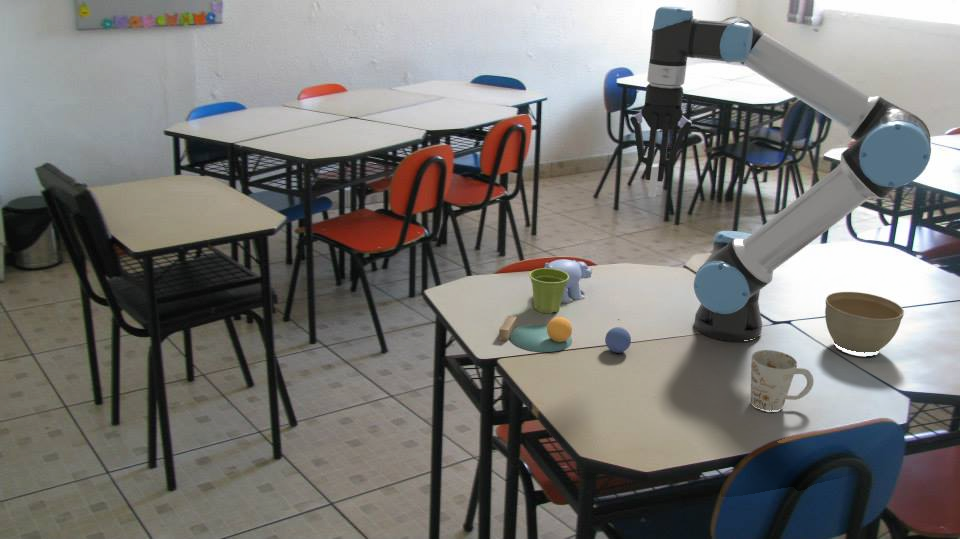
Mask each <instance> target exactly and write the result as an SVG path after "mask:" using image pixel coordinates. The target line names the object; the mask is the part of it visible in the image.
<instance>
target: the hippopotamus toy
mask: <svg viewBox="0 0 960 539" xmlns="http://www.w3.org/2000/svg"><path fill="white" fill-rule="evenodd" d="M544 268H551V269H557V270H561V271H564V272H566V273H567V274H568V275H569V280H568V281H567V283H566V285H565V288H564V292H563V296H562V301H561V304H568V303H570V302H573V300H576V301H579V300H582V299H585V298H586V297H585V295H583V294H582V292H581V288H580V284H579V282H580V281H581V279H590V278H591V277H592V273H593V269H592V268H589V267H588V265H587V263H585V262H584V261H576V260H575V259H573V260H570V259H556V260H553V261H551V262H545V264H544Z"/></svg>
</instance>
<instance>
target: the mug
mask: <svg viewBox="0 0 960 539" xmlns="http://www.w3.org/2000/svg"><path fill="white" fill-rule="evenodd" d="M750 361H751V362H750V363H751V364H750V365H751V367H750V368H751V369H750V404H751V403H752V404H753V405H754V406H755V407H757V408H760V409H764V410H769V411H770V410H771V411H772V410H779V409H781V408H782V407H784V405H785V402H786V400H789V401H790V400H791V401H795V400H800V399H803V398H804V397H805V396H807V395H808V394H809V393H810V391H811V390H812V388H813V386H814V376H813V374H812V373H811V371H810V370H809V369H807V368H803V367H798V362H797V360H796V359H795V357H793V356H791V355H790V354H787V353H784V352H781V351H778V350H771V349H768V350H767V349H764V350H763V349H761V350H757V351H754V352H753V353H752V354H751V360H750ZM795 375H802V376H804V377H805V379H806V385H805V387H804V388H803V390H801V391H800V392H799V393H798V394H796V395H795V394H794V395H793V394H788V393H789V390H790V387H791V385H792V382H793V379H794V377H795ZM782 409H783V408H782Z"/></svg>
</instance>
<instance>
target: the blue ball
mask: <svg viewBox="0 0 960 539" xmlns="http://www.w3.org/2000/svg"><path fill="white" fill-rule="evenodd" d="M604 338H605V340H604V341H605V346H606V348H607V349H608V350H610V352H613V353H615V354H616V353H617V354H619V353H624V352H625V351H627V350H628V349H629V347H630V346H631V343H632V338H631V335H630V333H629V332H628V330H626V329H625V328H624V327H621V326H620V327H619V326H618V327H617V326H616V327H613V328H611V329H610V330H608V331H607V333H606V335H605V337H604Z"/></svg>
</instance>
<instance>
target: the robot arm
mask: <svg viewBox="0 0 960 539" xmlns="http://www.w3.org/2000/svg"><path fill="white" fill-rule="evenodd" d="M652 27H653V28H652V29H651V33H652V35H651V42H650V43H651V44H650V54H649V62H648V71H647V77H646V79H647V80H646V81H647V82H648V84H647V85H646V88H645V96H644V97H645V98H644V105H643V107H642V108H641V111H640V112H639V113H635V114H632V115H631V117H630V118H629V121H630V123H631V125H632V126H633V130H634V137H635V144H636V152H637V159H638V162H640V163H642V164H644V165H645V175H644V179H645V181H649V186H648V188H649V189H648V197H649V198H656V196H657V191H658V185H659V184H658V183H659V182H660V183H661V182H663V180H664V177H665V169H666V167H669V166H673V165H674V164H675V160H676V159H677V156H678V153H679V151H680V147H681V145H682V142H683V140H684V137H685V136H686V133H687V131H689V130H690V128H691V127H692V124H693V122H692V120H691V119H688V118H686V116H684V115H683V114H684V112H683V110H682V103H683V97H684V96H683V94H684V88H683V87H682V86H683V85H684V84H685V80H686V70H687V61H688V58H690V59H702V60H712V61H718V62H719V61H720V62H726V63H729V64H730V63H740V64H741V65H743V66H744V67H747V68H748V69H750V70H751V71H753V72H755V73H756V74H757V75H759V76H760V77H763V78H764V79H766V80H768V81H769V82H771V83H772V84H774V85H776V86H777V87H779V88H781V89H782V90H783V91H786V92H787V93H788V94H790V95H792V96H793V97H794V98H796V99H798V100H799V101H802V103H804V104H806V105H808V106H809V107H810V108H812V109H814V110H815V111H817V112H819V113H821V114H822V115H824V116H825V117H827V118H829V119H830V120H831V121H833V122H835V123H836V124H838V125H839V126H842V127H843V128H844V129H846V130H847V133H848V137H849V138H851V139H852V140H854V141H855V142H854V143H853V144H852V145H851V146H849V147H847V149H845V150H844V151H843V152H841V155H840V160H839V161H840V163H839V165H837V166H836V167H835V168H834V169H833V170H832V171H830V172H829V173H827V174H826V175H824V177H823V178H821V179H820V180H818V181H817V182H816V183H815V184H813V185H812V186H811V187H810V188H809V189H808V190H806V191H805V192H803V193H802V194H801V195H800V196H799V197H798V198H796V199H795V200H793V201H792V202H791V203H789V204H788V205H787V206H786V207H785V208H783V209H782V210H781V211H780V212H778V213H777V214H776V215H775V216H773V217H772V218H771V219H770V220H768V221H766V223H764V224H763V225H762V226H760V228H758V229H757V230H755V231H754V232H753V233H748V232H743V231H737V230H736V231H735V230H721V231H718V232H716V233H715V235H714V238H713V240H712V251H711V254H710V255H709V256H708V257H707V259H706V260H705V261H704V263H703V264H702V265H701V266H700V267H699V268H698V269H697V271H696V274H695V277H694V281H693V289H694V290H693V291H694V294H695V297H696V299H697V300H698V302H699V303H700V305H699V306H698V309H697V311H696V313H695V315H694V316H695V317H694V322H693V326H694V327H695V329H697V331H698V332H700V333H701V334H703V335H706V336H708V337H711V338H713V339H716V338H717V340H720V339H722V340H721V341H725V340H728V341H727V342H734V341H744V340H750V339H754V338H756V337H758V336H759V335H760V334H761V335H762V330H763V321H762V316H761V315H762V314H761V310H760V304H759V299H760V292H761V290H762V289H763V288H764V287H766V286H767V285H768V284H770V283H771V282H772V281H773V277H774V276H773V275H774V271H775V270H777V269H778V268H779V267H780V266H782V265H783V264H784V263H785V262H787V261H789V259H791V258H792V257H794V256H796V254H797V253H799V252H800V251H802V250H803V249H805V247H807V246H808V245H809V244H811V243H812V242H814V240H816V239H817V238H819V237H821V236H822V235H823V234H824V233H825V232H827V231H828V230H829V229H831V228H832V227H834V226H835V225H836V224H838V222H840V221H841V220H844V218H846V217H847V216H848V215H849V214H850V213H852V212H853V211H855V210H857V208H858V207H860V206H862V205H863V204H864V203H866V202H867V201H868V200H871V199H877V200H882V199H884V198H885V197H887V196H888V195H890V194H891V193H892V192H894V191H895V190H896V189H898V187H899V188H900V187H902V186H905V185H907V184H910V183H912V182H913V181H915V180H916V179H917V178H918V177H920V176H921V175H922V173H923V172H924V171H925V170H926V168H927V166H928V164H929V162H930V159H931V155H932V154H931V153H932V147H931V146H932V145H931V134H930V130H929V127H928V125H927V124H926V123H925V122H924V121H923V120H922V119H921V118H920V117H919V116H917V115H915V114H914V113H912V112H910V111H908V110H906V109H903V108H901V107H900V106H898V105H896V104H894V103H892V102H889V101H888V100H886V99H885V98H883V97H882V96H880V95H877V96H870V95H868V94H866V93H864V92H863V91H861V90H860V89H858V88H856V87H855V86H852V85H851V84H849V83H848V82H846V81H845V80H843V79H842V78H839V77H838V76H836V75H835V74H833V73H831V72H829V71H828V70H826V69H825V68H823V67H822V66H820V65H818V64H817V63H815V62H813V61H811V60H810V59H809V58H806V57H805V56H803V55H802V54H800V53H798V52H797V51H795V50H793V49H792V48H790V47H788V46H787V45H785V44H783V43H782V42H780V41H779V40H777V39H776V38H773V37H771V35H768V34H767V33H766V32H763V31H762V30H760V29H758V28H757V27H755V26H754V24H752V22H751V21H750V20H748V19H747V18H745V17H742V16H735V15H734V16H730V17H727V18H725V19H723V20H705V19H696V18H694V12H693V9H692V8H689V7H681V6H659V7H658V8H657V9H656V11H655V13H654V20H653V26H652ZM643 119H644V121H645V122H646V124H647V126H648V127H649V128H650V129H649V138H648V139H649V140H648V146H647V147H648V149H647V155H646V154H645V153H646V152H645V145H644V137H643V130H642V122H643ZM678 122H679V132H678V134H677V137H676V139H675V143H674V144H673V148H672V150H671V153H670V155H669V158H667V153H668V147H669V146H668V144H669V138H670V137H669V136H670V130H672V129H673V127H675V126H676V124H677V123H678ZM659 130H660V131H662V134H661V135H662V136H661V144H660V151H659V152H660V153H659V161H658V164H656V163H654V160H655V159H654V158H655V149H656V143H657V142H656V141H657V134H658V131H659ZM761 335H760V336H761ZM760 336H759V337H760ZM759 337H758V338H759ZM754 340H755V339H754ZM744 342H745V341H744Z"/></svg>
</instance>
